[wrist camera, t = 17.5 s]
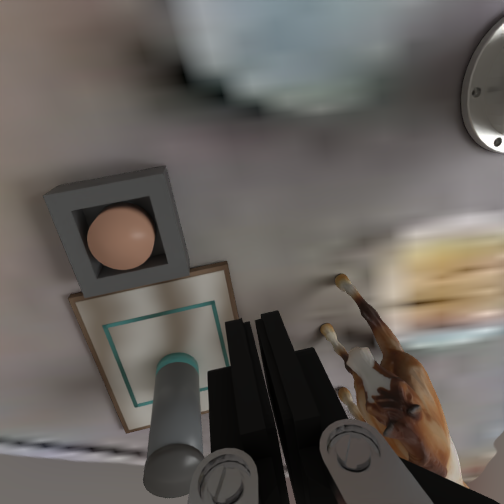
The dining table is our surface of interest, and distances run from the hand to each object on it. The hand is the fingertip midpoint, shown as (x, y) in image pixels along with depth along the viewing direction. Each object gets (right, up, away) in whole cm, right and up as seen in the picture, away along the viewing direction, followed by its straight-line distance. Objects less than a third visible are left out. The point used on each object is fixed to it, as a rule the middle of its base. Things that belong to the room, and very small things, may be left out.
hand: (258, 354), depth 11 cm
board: (-9, -7, +27) cm, 29 cm away
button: (-11, +5, +20) cm, 23 cm away
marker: (-8, -9, +27) cm, 30 cm away
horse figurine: (+9, -11, +32) cm, 35 cm away
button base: (-11, +6, +21) cm, 24 cm away
